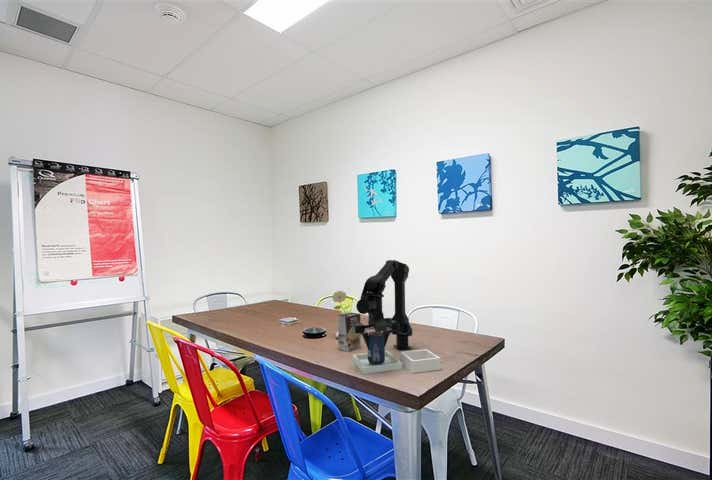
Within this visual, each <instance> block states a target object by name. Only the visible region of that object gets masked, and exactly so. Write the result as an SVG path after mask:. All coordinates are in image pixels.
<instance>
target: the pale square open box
mask: <svg viewBox="0 0 712 480" xmlns="http://www.w3.org/2000/svg"><path fill="white" fill-rule="evenodd" d="M399 361H400V362H401V363H402V367H403V366H404V368H405V369H407V370H408V371H409V372H410V373H411V374H417V373H427V372H433V371H441V370H442V362H441V361H442V359H441V357H440V356H438V355H436V354H435V353H434V352H432V351H430V350H429V349H428V348H424V349H416V350H414V349H413V350H407V351H405V350H404V351H399Z"/></svg>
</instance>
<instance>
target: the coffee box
mask: <svg viewBox="0 0 712 480" xmlns="http://www.w3.org/2000/svg"><path fill="white" fill-rule="evenodd" d="M337 322H338V324H337V326H338V327H337V328H338V330H337V331H338V337H337V340H338V341H337V342H338V344H337V345H338V348H337V349H338V350H341V351H343V352H350V351H354V350H357V349H360V348H362V343H361V341H362V340H361V339H362V338H361V337H362V335H361V334H360V333H355V332H354V331H352V325H353V324H355V323H361V313H356V312H350V313H348V314H342V313H341V314H338V316H337Z"/></svg>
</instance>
